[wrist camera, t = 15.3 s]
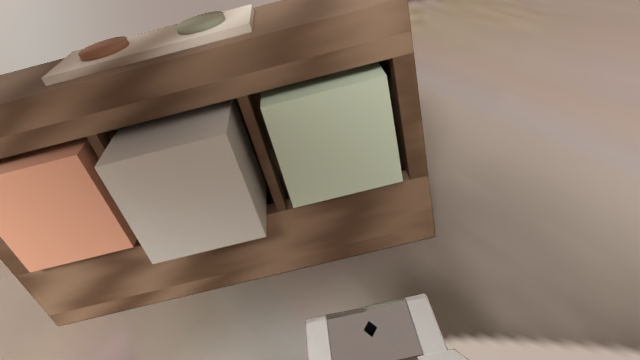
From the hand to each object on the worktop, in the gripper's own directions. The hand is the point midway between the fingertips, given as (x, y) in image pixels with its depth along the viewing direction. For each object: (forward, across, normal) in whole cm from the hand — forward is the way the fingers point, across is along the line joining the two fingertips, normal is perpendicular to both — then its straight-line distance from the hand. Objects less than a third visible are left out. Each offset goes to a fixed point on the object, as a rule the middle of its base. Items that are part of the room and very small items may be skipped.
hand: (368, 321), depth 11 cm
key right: (+14, 0, +5) cm, 15 cm away
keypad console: (+16, +7, +10) cm, 20 cm away
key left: (+14, +15, +5) cm, 21 cm away
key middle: (+13, +7, +5) cm, 15 cm away
